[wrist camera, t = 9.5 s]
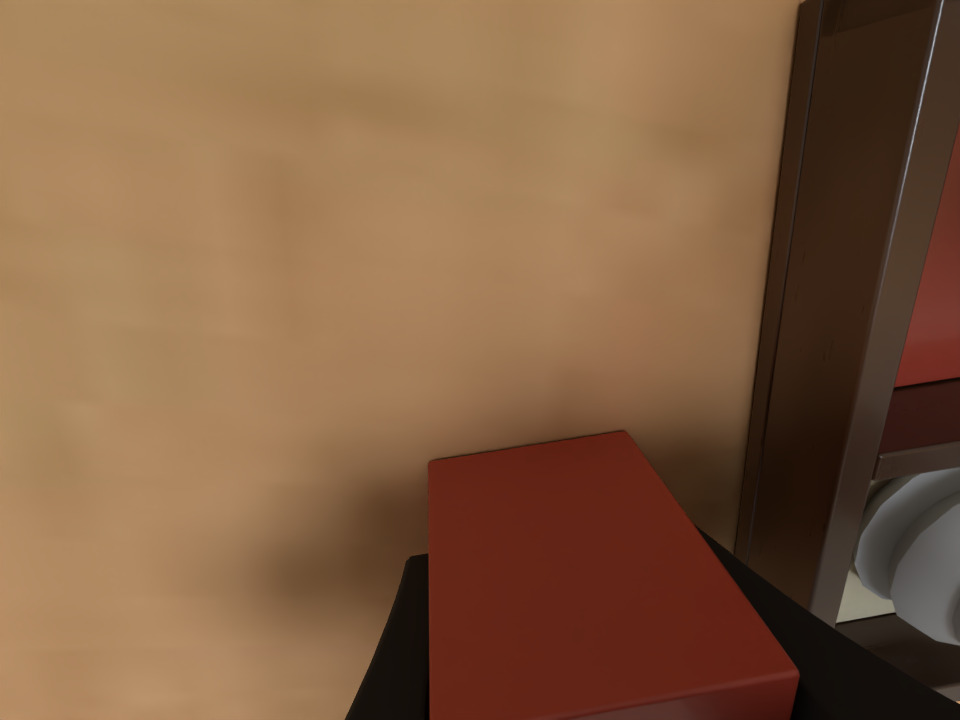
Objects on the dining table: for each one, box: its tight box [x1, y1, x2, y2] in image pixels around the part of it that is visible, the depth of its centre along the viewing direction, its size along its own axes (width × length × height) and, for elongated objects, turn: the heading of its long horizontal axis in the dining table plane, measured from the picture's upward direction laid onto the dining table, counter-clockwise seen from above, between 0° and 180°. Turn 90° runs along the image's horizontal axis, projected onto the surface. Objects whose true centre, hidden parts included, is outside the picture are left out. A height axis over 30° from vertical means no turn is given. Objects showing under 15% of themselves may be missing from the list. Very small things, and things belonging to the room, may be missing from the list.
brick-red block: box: [428, 431, 800, 720], centre depth 9 cm, size 4×4×6 cm
